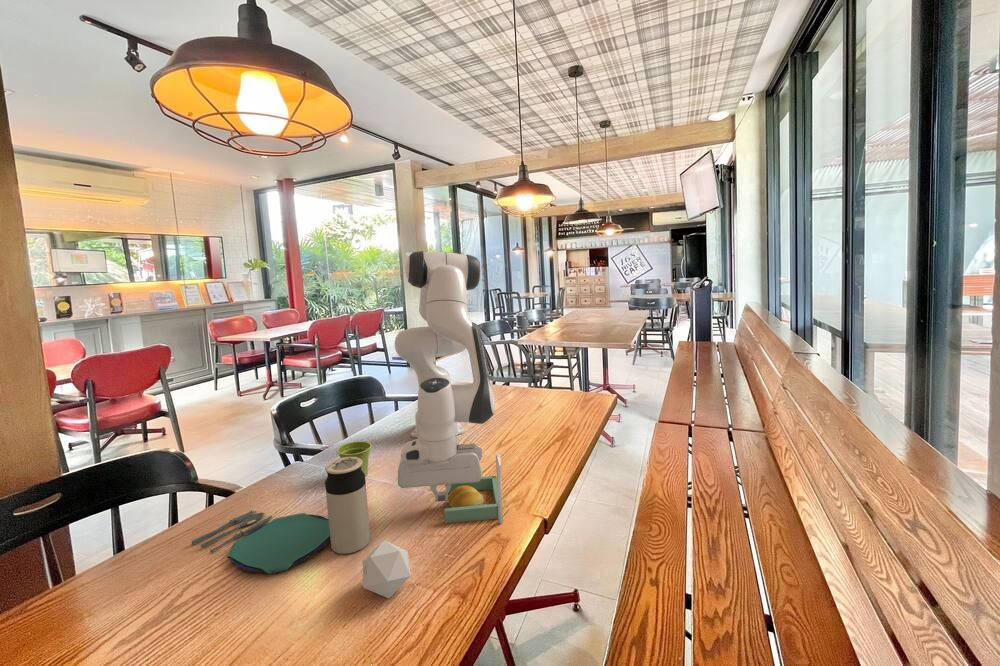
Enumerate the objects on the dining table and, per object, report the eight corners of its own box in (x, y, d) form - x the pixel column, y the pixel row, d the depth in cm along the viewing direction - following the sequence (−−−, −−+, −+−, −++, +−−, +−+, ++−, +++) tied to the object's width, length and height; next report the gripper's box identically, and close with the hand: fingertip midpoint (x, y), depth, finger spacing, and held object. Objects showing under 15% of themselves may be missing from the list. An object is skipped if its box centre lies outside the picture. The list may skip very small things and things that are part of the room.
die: (380, 571, 86) (349, 549, 80) (417, 548, 86) (389, 524, 80) (383, 613, 79) (349, 592, 73) (424, 587, 79) (393, 565, 73)
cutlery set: (275, 590, 81) (274, 579, 81) (180, 552, 94) (179, 542, 94) (354, 532, 99) (353, 522, 98) (265, 506, 112) (264, 498, 111)
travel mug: (377, 535, 96) (371, 457, 94) (354, 558, 89) (347, 474, 86) (347, 530, 99) (340, 454, 96) (323, 551, 91) (314, 470, 89)
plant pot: (380, 471, 128) (378, 443, 127) (357, 486, 120) (355, 456, 118) (356, 466, 132) (353, 439, 131) (332, 480, 124) (329, 451, 122)
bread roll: (458, 518, 102) (457, 502, 101) (444, 501, 110) (443, 486, 109) (490, 508, 106) (489, 492, 105) (474, 492, 114) (473, 478, 113)
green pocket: (446, 490, 115) (443, 432, 113) (496, 486, 116) (494, 428, 114) (444, 541, 93) (440, 470, 91) (505, 535, 94) (503, 465, 92)
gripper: (480, 438, 109) (483, 490, 111) (398, 444, 108) (401, 497, 109) (482, 448, 103) (484, 503, 105) (394, 454, 101) (398, 510, 103)
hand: (441, 500), depth 107 cm, fingers closed
